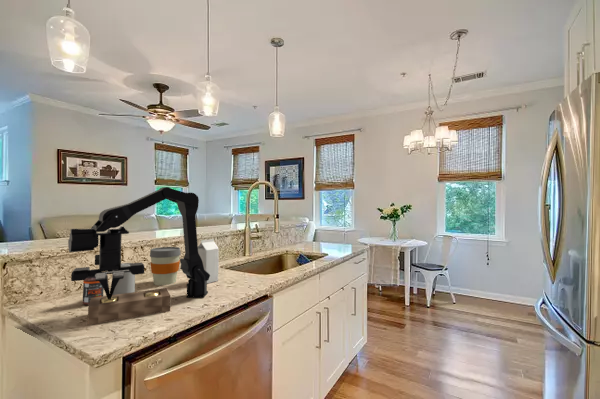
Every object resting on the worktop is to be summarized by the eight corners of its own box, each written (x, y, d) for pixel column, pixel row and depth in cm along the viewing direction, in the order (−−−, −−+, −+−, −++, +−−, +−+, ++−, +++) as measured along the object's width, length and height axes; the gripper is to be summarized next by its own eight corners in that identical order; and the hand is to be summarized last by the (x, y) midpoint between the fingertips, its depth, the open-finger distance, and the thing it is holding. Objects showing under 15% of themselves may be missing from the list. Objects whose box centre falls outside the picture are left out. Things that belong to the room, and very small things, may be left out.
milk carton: (218, 280, 131) (219, 239, 132) (205, 284, 125) (206, 241, 126) (208, 278, 135) (208, 238, 136) (195, 281, 129) (196, 239, 130)
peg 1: (116, 311, 92) (116, 295, 92) (116, 315, 89) (116, 299, 89) (101, 313, 90) (101, 297, 90) (100, 318, 87) (101, 301, 87)
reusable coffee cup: (165, 277, 136) (166, 246, 136) (186, 280, 131) (186, 247, 131) (142, 284, 124) (143, 249, 124) (164, 288, 119) (164, 252, 120)
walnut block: (166, 301, 103) (166, 287, 103) (170, 310, 94) (170, 295, 94) (90, 313, 91) (90, 297, 91) (87, 325, 83) (88, 307, 83)
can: (123, 299, 105) (124, 266, 105) (106, 297, 106) (107, 265, 106) (139, 293, 112) (139, 262, 112) (123, 291, 114) (123, 261, 114)
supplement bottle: (87, 306, 97) (87, 273, 97) (79, 303, 100) (80, 271, 100) (106, 301, 102) (107, 270, 102) (98, 298, 105) (99, 268, 105)
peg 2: (157, 305, 99) (158, 290, 99) (159, 309, 95) (159, 294, 95) (144, 307, 97) (144, 292, 97) (145, 311, 93) (145, 296, 93)
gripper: (142, 243, 102) (141, 287, 101) (76, 247, 92) (75, 296, 91) (144, 248, 92) (143, 296, 92) (71, 252, 82) (70, 307, 82)
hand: (109, 298), depth 90 cm, fingers closed, pressing on peg 1
